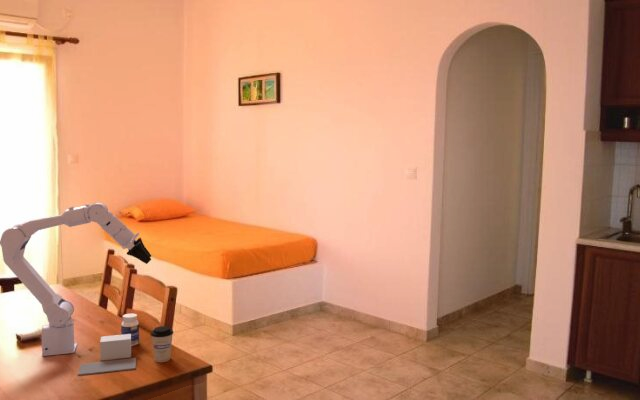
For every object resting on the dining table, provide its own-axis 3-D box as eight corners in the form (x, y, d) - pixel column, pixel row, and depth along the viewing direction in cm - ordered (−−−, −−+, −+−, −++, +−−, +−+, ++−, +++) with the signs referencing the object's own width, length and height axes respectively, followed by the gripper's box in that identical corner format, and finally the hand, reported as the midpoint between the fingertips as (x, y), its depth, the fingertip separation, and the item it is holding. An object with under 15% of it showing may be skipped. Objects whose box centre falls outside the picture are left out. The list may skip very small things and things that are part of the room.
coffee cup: (153, 355, 173) (153, 325, 172) (175, 354, 173) (175, 324, 172) (148, 364, 166) (148, 332, 165) (171, 363, 166) (171, 332, 165)
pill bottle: (133, 347, 179) (132, 318, 178) (118, 346, 180) (117, 317, 179) (142, 341, 185) (141, 313, 184) (127, 340, 186) (126, 312, 185)
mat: (77, 375, 157) (77, 374, 157) (80, 365, 165) (80, 363, 164) (135, 369, 162) (135, 367, 162) (135, 359, 170) (135, 357, 169)
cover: (100, 360, 168) (100, 342, 168) (101, 354, 173) (101, 336, 172) (131, 357, 171) (130, 339, 170) (131, 351, 176) (130, 333, 175)
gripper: (127, 225, 171) (158, 254, 174) (128, 221, 184) (157, 248, 188) (110, 240, 169) (141, 270, 173) (113, 235, 183) (142, 262, 186)
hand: (149, 259), depth 180 cm, fingers open, 7 cm apart
